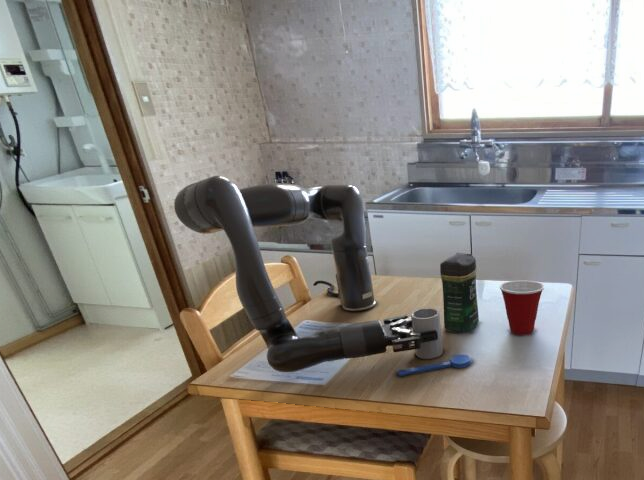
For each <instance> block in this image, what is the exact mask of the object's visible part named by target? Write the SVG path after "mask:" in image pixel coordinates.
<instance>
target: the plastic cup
mask: <svg viewBox="0 0 644 480" xmlns="http://www.w3.org/2000/svg"><path fill="white" fill-rule="evenodd" d="M544 289H545V285H544V284H543V283H542V282H540V281H539V282H538V281H534V280H520V279H519V280H511V281H505V282H502V283H501V284H499V290H500V291H501V294H502V298H503V301H504V306H505V313H506V318H507V321H508V326H509V330H510V332H511V333H512V334H514V335H516V336H526V335H527V336H528V335H531V334H532V333H533V332H534V330H535V325H536V320H537V316H538V309H539V305H540V300H541V296H542V292H543V291H544Z"/></svg>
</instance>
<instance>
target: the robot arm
mask: <svg viewBox="0 0 644 480" xmlns="http://www.w3.org/2000/svg"><path fill="white" fill-rule="evenodd" d="M173 208H174V209H173V210H174V213H175V215H176V217H177V218H178V221H180V222H181V223H182V224H183V226H185V227H186V228H188V229H189V230H191V231H193V232H195V233H199V234H205V235H206V234H209V235H211V234H215V233H218V232H222V231H224V233H225V235H226V236H227V239H228V241H229V243H230V245H231V249H232V251H233V256H234V267H235V287H236V289H235V290H236V293H237V296H238V299H239V301H240V304H241V307H242V308H243V309H244V312H245V314H246V316H247V317H248V320H249V322H250V323H251V325H252V327H253V328H254V329H255V330H256V331H257V332H259V334H260V336H261V338H262V339H263V341H264V343H265V345H266V348H267V351H266V360H267V363H268V365H269V366H270V368H272V369H273V370H275V371H277V372H279V373H294V372H299V371H303V370H306V369H309V368H311V367H312V368H313V367H314V366H317V365H320V364H322V363H323V364H324V363H329V362H335V361H340V360H347V359H357V358H362V357H363V358H364V357H368V356H375V355H380V354H385V353H387V352H386V351H387V347H392V351H393V353H400V352H407V351H412V350H413V351H414V350H415V349H419V348H420V345H421V344H422V343H423V342H429V341H435V340H437V339H438V334H437V331H436V330H432V331H426V332H420V333H415V332H413V328H412V320H411V316H410V317H409V315H408V314H403V315H399V316H394V317H388V318H383V324H382V321H381V320H380V319H375V320H369V321H363V322H362V321H361V322H355V323H351V324H345V325H343V326H339V327H333V328H332V327H331V328H326V329H322V330H318V331H315V332H314V333H313V334H311V335H309V336H304V337H299V335H298V333H297V332H296V330H295V328H294V327H293V325H292V324H291V322H290V320H289V318H288V316H287V315H286V312H285V309H284V307H283V305H282V303H281V301H280V299H279V296H278V294H277V292H276V290H275V288H274V286H273V284H272V281H271V279H270V276H269V273H268V271H267V269H266V266H265V262H264V259H263V256H262V252H261V249H260V245H259V241H258V239H257V234H256V232H255V228H269V227H270V228H272V227H274V228H275V227H290V226H291V227H293V226H297V225H301V224H304V223H306V222H307V221H308V220H320V221H326V222H327V221H328V222H335V223H336V222H338V223H339V222H341V223H342V226H343V230H342V232H339V233H336V234H334V235H332V236H331V238H330V247H331V252H332V257H333V261H334V267H335V272H336V273H335V280H336V286H337V292H333V290H334V289H335V285H334V284H333V283H331V282H328V281H327V280H316V281H314V283H313V284H312V286H314V287H316V286H317V285H319V284H322V285H326V286H329V288H328V289H327V294H328V295H330V296H334V297H338V299H339V301H340V305H341V306H342V309H343V311H347V312H362V311H366V310H367V311H368V310H370V309H372V308H374V307H375V306H376V299H375V293H374V287H373V279H372V274H371V268H370V267H371V266H370V261H369V255H368V249H367V244H366V243H367V242H366V236H367V235H366V234H367V230H366V221H365V211H364V210H365V209H364V203H363V197H362V195H361V193H360V190H359V189H358V187H356V186H355V185H352V184H324V185H319V186H313V187H303V186H301V185H298V184H296V183H287V182H269V183H263V184H258V185H252V186H248V187H247V186H246V187H243V188H239V187H238V186H237V185H236V184H235V183H234V182H233V181H232V180H231V179H229V178H227V177H225V176H223V175H213V176H209V177H207V178H204V179H201V180H199V181H196V182H193V183H191V184H188V185H186V186H184V187H183V188H182V189H180V191H178V193H177V194H176V197H175V198H174V202H173Z"/></svg>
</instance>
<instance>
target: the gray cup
mask: <svg viewBox="0 0 644 480" xmlns="http://www.w3.org/2000/svg"><path fill="white" fill-rule="evenodd" d="M410 317H411V320H412V332H415V333H420V332H426V331H432V330H436V331H437V334H438V339H437V340H435V341H429V342H423V343H422V344H421V345H420V348H419V349H414V350H415V356H416V357H417V358H419V359H423V360H431V359H437V358H438V357H440V356H441V355H443V353H444V345H443V335H442V325H441V314H440V310H439V309H437V308H434V307H422V308H418V309H415V310H413V311H411V313H410Z"/></svg>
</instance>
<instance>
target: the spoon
mask: <svg viewBox="0 0 644 480" xmlns="http://www.w3.org/2000/svg"><path fill="white" fill-rule="evenodd" d="M471 363H472V358H471V356H470V355H468V354H464V353H459V354H455V355H453V356H451V357H450V359H449V360H447V361H443V362H437V363H432V364H426V365H421V366H415V367H409V368H403V369H402V368H401V369H399V370H397V372H396V373H397V377H398V376H399V377H405V376H409V375H413V374H419V373H425V372H429V371H434V370H435V371H436V370H441V369H445V368H451V367H453V368H455V369H463V368H467V367H469V366H470V365H471Z"/></svg>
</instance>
